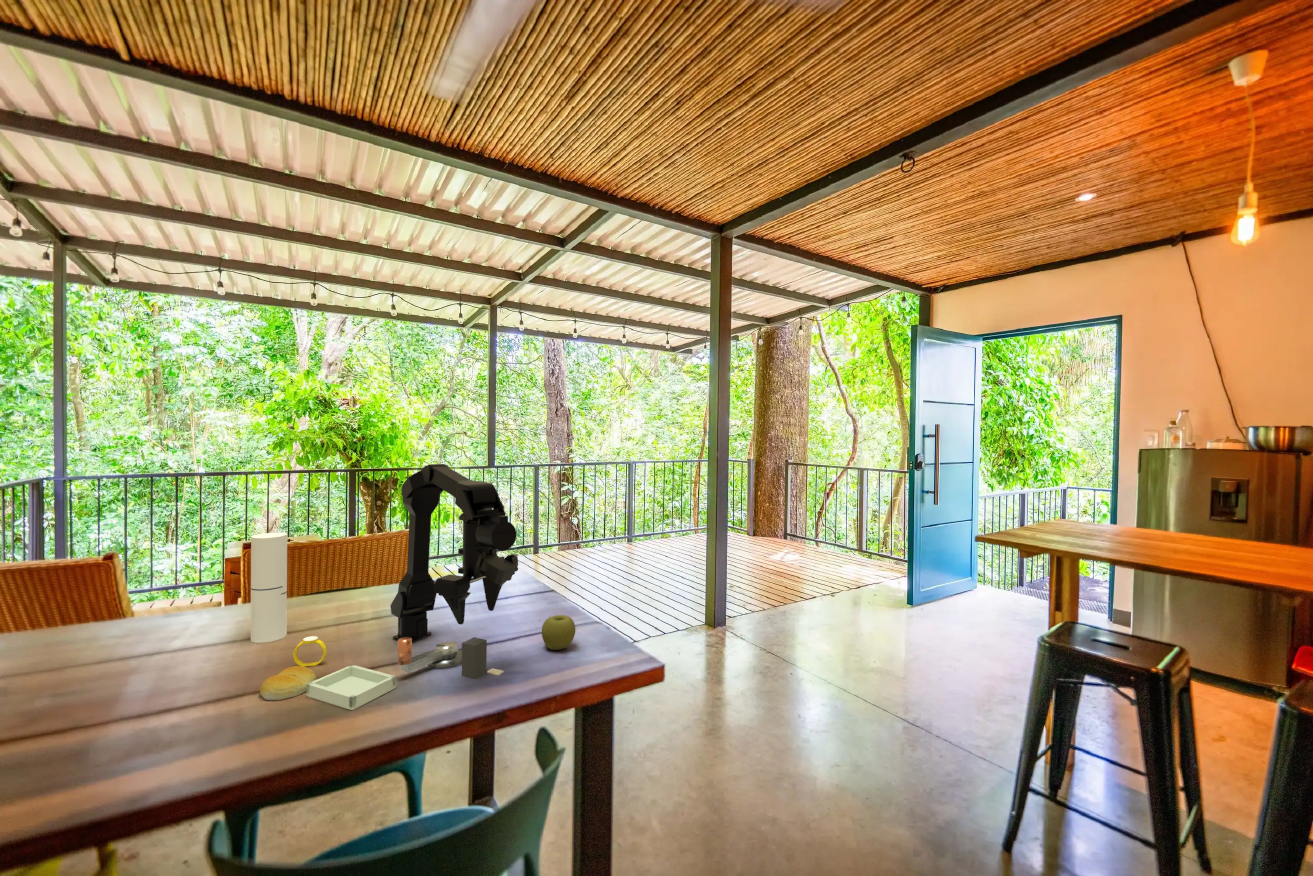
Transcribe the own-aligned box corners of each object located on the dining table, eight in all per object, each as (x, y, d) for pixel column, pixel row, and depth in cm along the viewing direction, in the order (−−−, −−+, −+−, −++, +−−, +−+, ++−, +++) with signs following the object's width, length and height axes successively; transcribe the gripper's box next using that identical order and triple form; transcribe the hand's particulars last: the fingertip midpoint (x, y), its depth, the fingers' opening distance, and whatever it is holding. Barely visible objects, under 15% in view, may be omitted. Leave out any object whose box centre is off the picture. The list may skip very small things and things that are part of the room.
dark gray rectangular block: (461, 676, 113) (462, 642, 113) (473, 669, 117) (473, 637, 116) (474, 679, 112) (475, 645, 112) (486, 672, 115) (486, 639, 115)
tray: (352, 710, 99) (352, 697, 99) (306, 696, 104) (306, 684, 104) (396, 687, 108) (396, 676, 108) (352, 675, 113) (352, 664, 113)
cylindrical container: (243, 640, 131) (244, 536, 130) (274, 630, 137) (274, 531, 137) (263, 645, 128) (263, 539, 128) (293, 634, 135) (293, 534, 134)
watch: (326, 662, 120) (329, 635, 120) (322, 668, 117) (325, 640, 117) (295, 663, 118) (298, 636, 118) (290, 668, 115) (293, 641, 115)
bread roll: (249, 700, 103) (249, 679, 103) (289, 679, 111) (289, 659, 111) (287, 704, 101) (287, 683, 101) (324, 682, 110) (324, 663, 110)
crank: (449, 649, 124) (449, 620, 123) (461, 654, 121) (461, 624, 121) (392, 671, 112) (392, 639, 112) (404, 676, 110) (405, 643, 110)
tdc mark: (486, 673, 115) (486, 671, 115) (492, 669, 117) (492, 668, 117) (498, 675, 114) (498, 674, 114) (503, 672, 115) (503, 671, 115)
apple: (568, 655, 124) (568, 624, 124) (535, 652, 126) (536, 621, 126) (579, 643, 132) (580, 613, 132) (548, 640, 134) (549, 611, 133)
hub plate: (418, 664, 118) (418, 660, 118) (446, 651, 126) (446, 647, 126) (446, 671, 115) (447, 667, 115) (473, 657, 123) (473, 653, 123)
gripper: (476, 556, 103) (476, 638, 103) (535, 538, 120) (534, 609, 120) (431, 550, 107) (431, 629, 107) (494, 534, 124) (493, 602, 124)
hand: (476, 617), depth 114 cm, fingers open, 9 cm apart
